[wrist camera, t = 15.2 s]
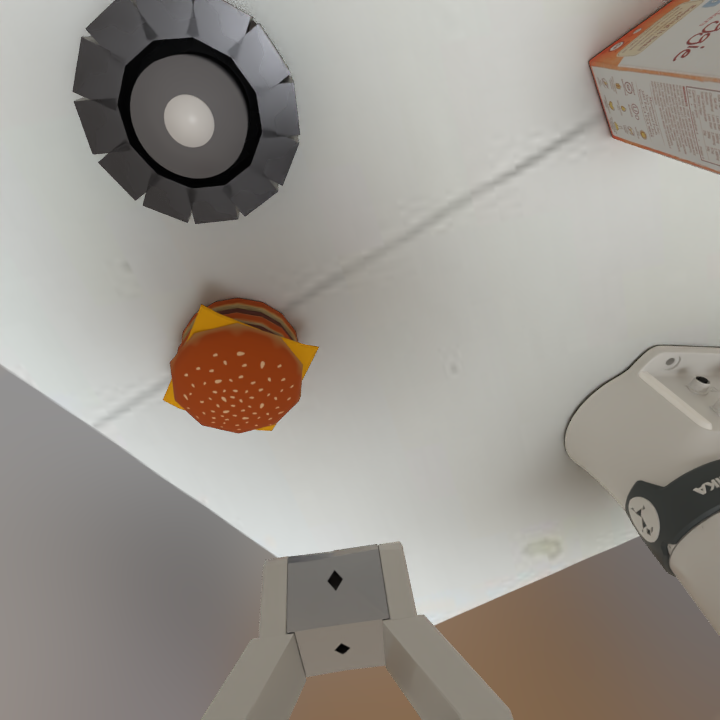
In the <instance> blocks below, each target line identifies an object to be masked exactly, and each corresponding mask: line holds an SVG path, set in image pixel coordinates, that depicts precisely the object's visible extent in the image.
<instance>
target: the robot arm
mask: <svg viewBox="0 0 720 720" xmlns="http://www.w3.org/2000/svg"><path fill="white" fill-rule="evenodd" d="M565 447H566V451H567V453H568V455H569V457H570V458H571V459H572V460H573V461H574V462H575V463H576V464H578V465H579V466H580V467H582V468H583V469H584V470H585V471H587V472H588V473H589V474H590V475H591V476H592V477H593V478H595V479H596V480H597V481H598V482H599V483H600V484H601V485H602V486H603V487H604V488H605V489H606V490H607V491H608V492H609V493H610V494H611V495H612V497H613V498H614V499H615V500H616V501H617V502H618V503H619V504H620V505H621V506H622V508H623V509H624V510H625V511H626V513H627V515H628V516H629V518H630V520H631V522H632V524H633V525H634V527H635V529H636V530H637V532H638V534H639V535H640V537H641V538H642V540H643V541H644V542H645V544H646V545H647V546H648V548H649V549H650V551H651V552H652V553H653V554H654V556H655V557H656V558H657V560H658V561H659V562H660V564H661V565H662V566H663V568H664V569H665V570H666V571H667V572H668V573H669V574H671V575H673V576H675V577H677V578H678V580H679V581H680V583H681V584H682V585H683V587H684V588H685V589H686V591H687V592H688V594H689V595H690V596H691V597H692V599H693V600H694V602H695V603H696V605H697V606H698V607H699V609H700V610H701V612H702V613H703V614H704V616H705V617H706V618H707V620H708V621H709V623H710V624H711V625H712V627H713V628H714V630H715V631H716V632H717V634H718V635H719V636H720V348H714V347H686V346H656V347H653V348H651V349H650V350H648V351H647V352H646V353H645V354H643V355H642V356H641V357H640V358H639V359H638V360H637V361H636V362H635V363H634V364H633V365H632V366H631V367H630V368H629V369H628V370H627V371H626V372H624V373H623V374H621V375H620V376H618V377H616V378H615V379H613V380H611V381H610V382H608V383H607V384H605V385H604V386H602V387H601V388H600V389H598V390H597V391H596V392H595V393H593V394H592V395H591V396H590V397H589V398H588V399H587V400H586V401H585V402H584V403H583V404H582V405H581V406H580V408H579V409H578V410H577V412H576V413H575V414H574V416H573V418H572V419H571V421H570V423H569V426H568V428H567V431H566V436H565ZM260 607H261V608H260V622H259V637H258V638H256V639H251V641H250V642H249V644H248V646H247V647H246V649H245V650H244V652H243V653H242V655H241V657H240V658H239V660H238V662H237V663H236V665H235V666H234V668H233V670H232V671H231V673H230V674H229V676H228V678H227V679H226V681H225V682H224V684H223V685H222V687H221V688H220V690H219V692H218V693H217V695H216V696H215V698H214V700H213V701H212V703H211V704H210V706H209V708H208V709H207V711H206V712H205V714H204V716H203V717H202V719H201V720H288V719H289V718H290V715H291V713H292V711H293V709H294V706H295V704H296V702H297V700H298V697H299V695H300V693H301V691H302V689H303V687H304V684H305V682H306V677H310V676H316V675H321V674H327V673H333V672H338V671H344V670H351V669H360V668H368V667H376V666H385V665H386V668H387V670H388V672H389V673H390V674H391V676H392V677H393V679H394V680H395V682H396V683H397V684H398V686H399V687H400V689H401V690H402V692H403V693H404V695H405V696H406V697H407V699H408V700H409V702H410V703H411V705H412V706H413V708H414V709H415V710H416V712H417V713H418V715H419V716H420V718H421V719H422V720H513V717H512V714H511V711H510V709H509V708H508V707H507V706H506V705H505V704H504V702H503V701H502V700H501V699H500V698H499V697H498V696H497V695H496V694H495V693H494V691H493V690H492V689H491V688H490V687H489V686H488V685H487V684H486V683H485V681H484V680H483V679H482V678H481V677H480V676H479V675H478V674H477V673H476V672H475V670H474V669H472V667H471V666H470V665H469V664H468V663H467V662H466V660H465V659H464V658H463V657H462V656H461V655H460V654H459V653H458V652H457V651H456V649H455V648H454V647H453V646H452V645H451V644H450V643H449V642H448V641H447V640H446V638H445V637H444V636H443V635H442V634H441V633H440V632H439V631H438V630H437V629H436V627H435V626H434V625H433V624H432V623H431V622H430V621H429V620H428V619H427V617H426V616H425V615H417V613H416V608H415V603H414V598H413V594H412V589H411V584H410V579H409V575H408V570H407V565H406V560H405V556H404V551H403V546H402V544H401V543H400V541H398V542H392V543H385V544H379V545H378V546H377V544H374V545H367V546H360V547H354V548H347V549H341V550H334V551H330V552H322V553H315V554H307V555H299V556H291V557H289V556H288V557H281V558H273V559H266V560H265V562H264V567H263V576H262V591H261V606H260Z"/></svg>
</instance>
